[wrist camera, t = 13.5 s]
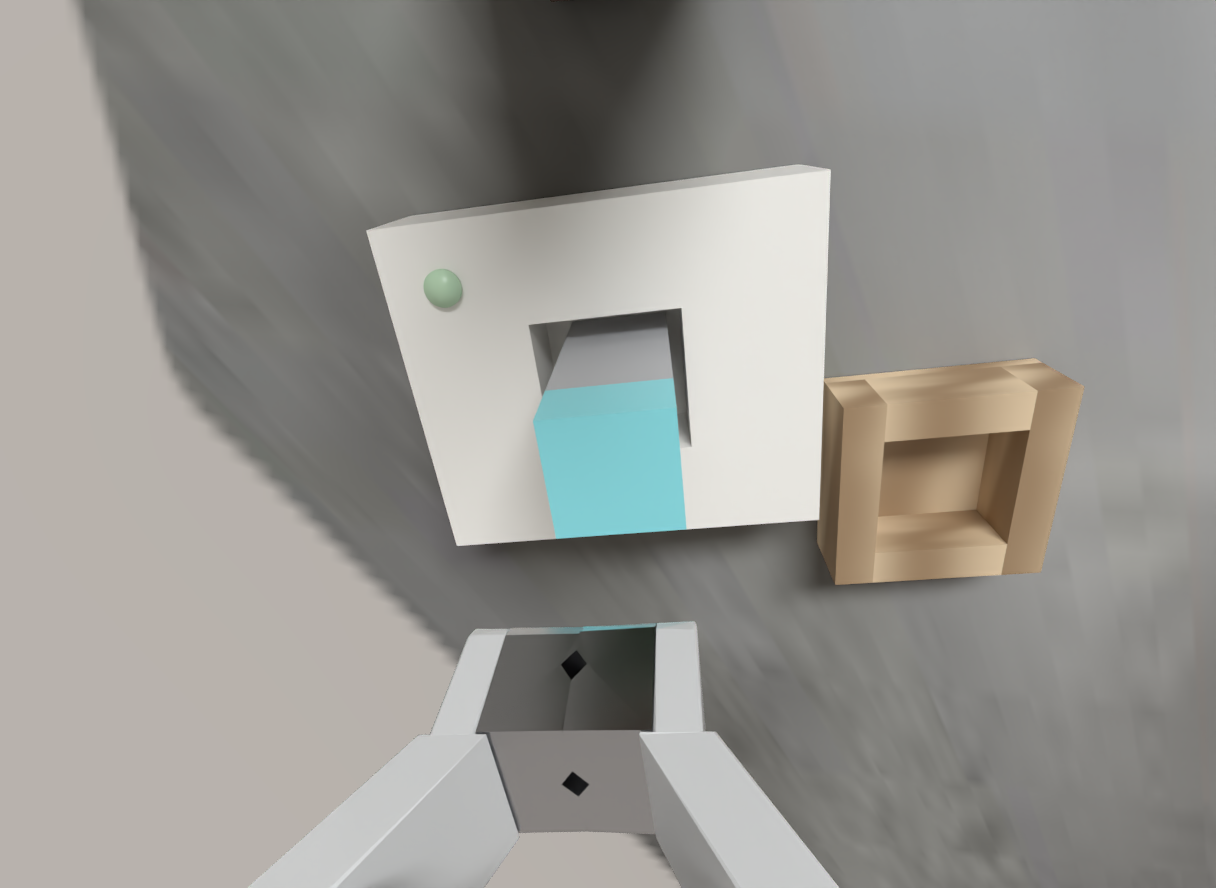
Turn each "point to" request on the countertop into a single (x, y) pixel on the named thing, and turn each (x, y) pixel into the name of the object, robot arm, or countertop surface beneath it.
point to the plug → (612, 430)
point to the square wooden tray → (943, 470)
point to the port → (612, 287)
